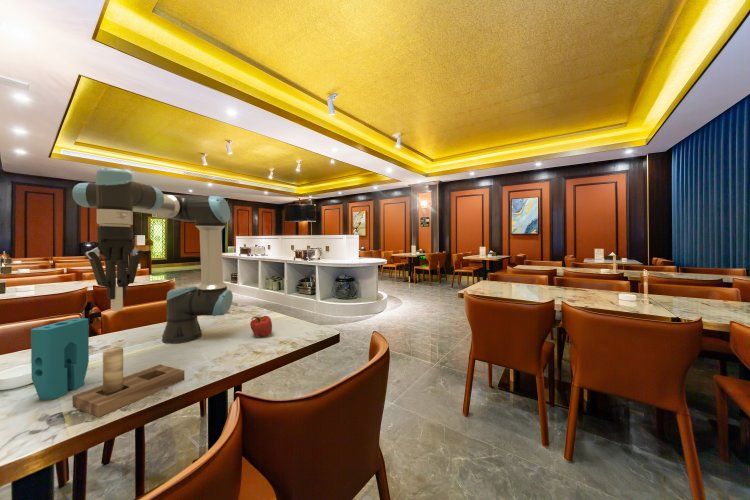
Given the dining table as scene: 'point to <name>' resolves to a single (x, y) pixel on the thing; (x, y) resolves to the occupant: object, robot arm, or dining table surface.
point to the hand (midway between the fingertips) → (116, 310)
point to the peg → (112, 371)
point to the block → (59, 357)
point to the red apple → (261, 326)
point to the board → (128, 390)
